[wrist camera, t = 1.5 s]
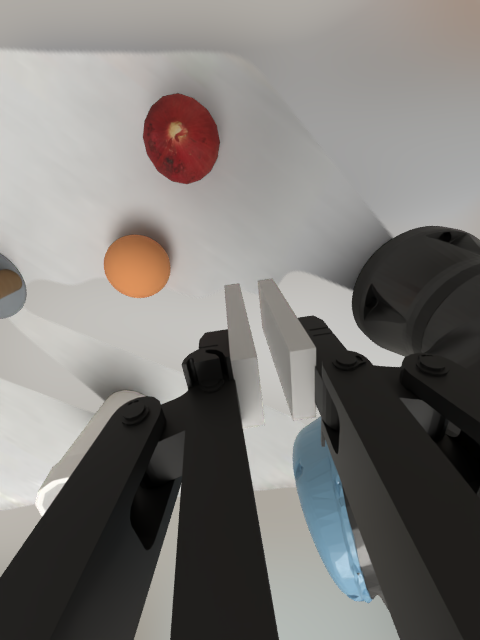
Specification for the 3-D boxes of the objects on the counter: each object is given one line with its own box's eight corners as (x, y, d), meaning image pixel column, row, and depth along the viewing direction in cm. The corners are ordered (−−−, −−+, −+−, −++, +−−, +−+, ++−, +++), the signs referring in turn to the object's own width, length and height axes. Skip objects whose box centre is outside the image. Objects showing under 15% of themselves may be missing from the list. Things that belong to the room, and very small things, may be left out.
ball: (185, 257, 29) (178, 272, 23) (153, 296, 30) (139, 319, 25) (137, 217, 26) (117, 224, 21) (105, 262, 28) (79, 279, 23)
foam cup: (148, 374, 35) (115, 466, 23) (172, 422, 39) (154, 521, 27) (80, 390, 35) (13, 489, 24) (111, 437, 39) (67, 540, 28)
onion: (198, 196, 26) (191, 199, 19) (143, 158, 24) (113, 145, 17) (230, 138, 24) (236, 117, 17) (173, 92, 22) (153, 46, 15)
